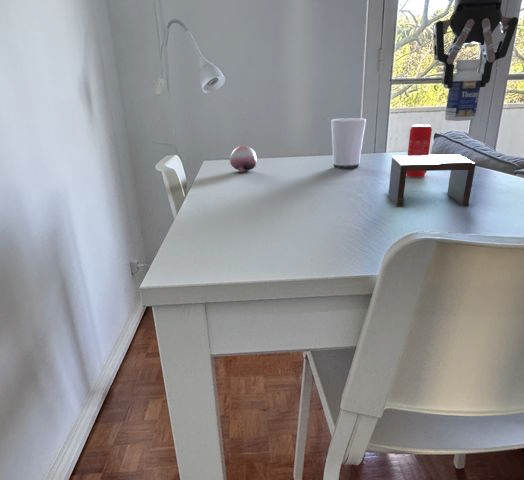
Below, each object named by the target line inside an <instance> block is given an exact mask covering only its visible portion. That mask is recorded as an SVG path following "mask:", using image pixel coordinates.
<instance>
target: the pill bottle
mask: <svg viewBox="0 0 524 480" xmlns="http://www.w3.org/2000/svg"><path fill="white" fill-rule="evenodd" d="M481 61H482V59H478V58H474V59H458V60H456V64H455V70H456V73H453V78H452V85H451V88H448V92H447V93H448V94H447V99H446V107H445V114H444V119H445V121H450V122H451V121H453V122H459V121H460V122H461V121H462V122H464V121H474V120H475V118H476V115H477V110H478V103H479V96H480V92H481V87H480V86H481V80H482V76H481V74H480V72H479V70H480V68H481Z"/></svg>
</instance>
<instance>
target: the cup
mask: <svg viewBox="0 0 524 480" xmlns="http://www.w3.org/2000/svg"><path fill="white" fill-rule="evenodd" d="M366 123H367V119H366V118H361V117H344V118H343V117H342V118H333V119H330V126H331V129H330V130H331V147H332V148H331V149H332V164H333V167H334V168H337V169H341V170H342V169H343V168H344V167H346V168H347V169H353V168H358V167H359V166H360V161H361V155H362V148H363V142H364V136H365V129H366Z"/></svg>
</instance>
